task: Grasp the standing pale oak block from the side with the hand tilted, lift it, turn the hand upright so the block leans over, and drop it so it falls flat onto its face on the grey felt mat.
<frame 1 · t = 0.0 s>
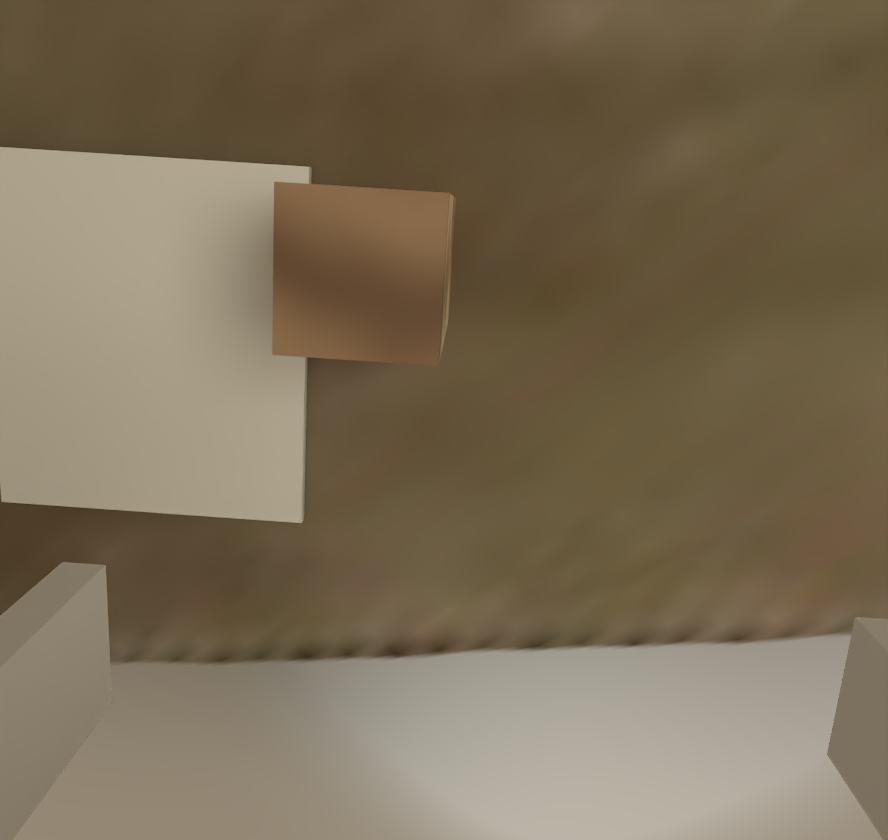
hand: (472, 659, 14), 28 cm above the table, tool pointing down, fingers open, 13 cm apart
felt mat: (151, 342, 42), on the table
oak block: (390, 257, 40), on the table
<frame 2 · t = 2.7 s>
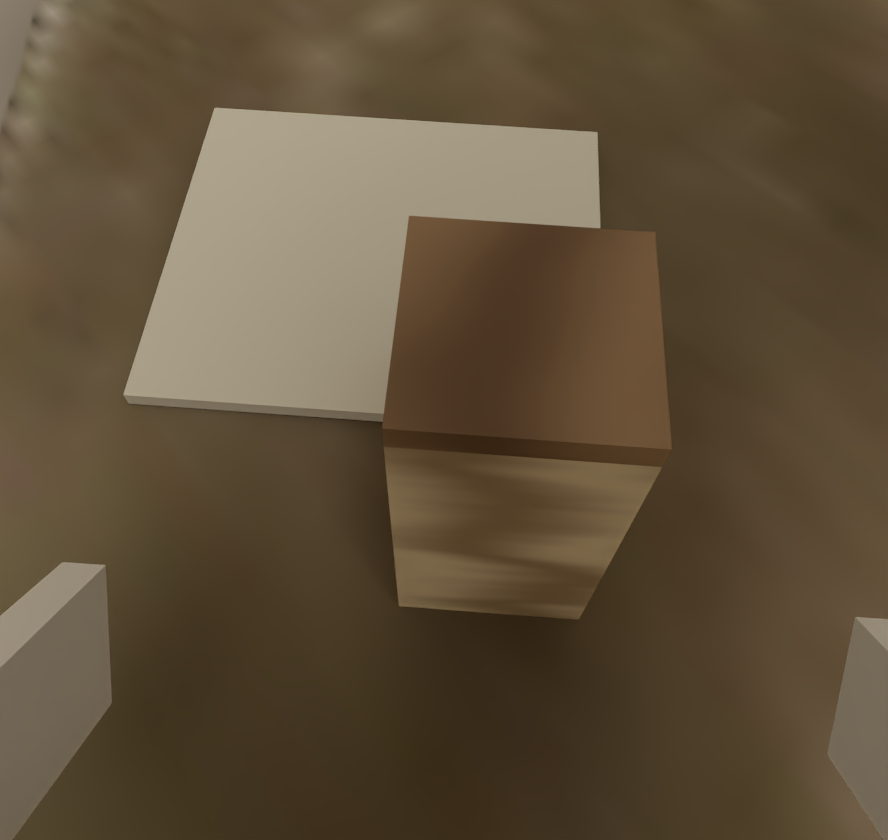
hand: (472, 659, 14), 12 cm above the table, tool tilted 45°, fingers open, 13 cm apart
felt mat: (387, 258, 35), on the table
oak block: (492, 529, 29), on the table
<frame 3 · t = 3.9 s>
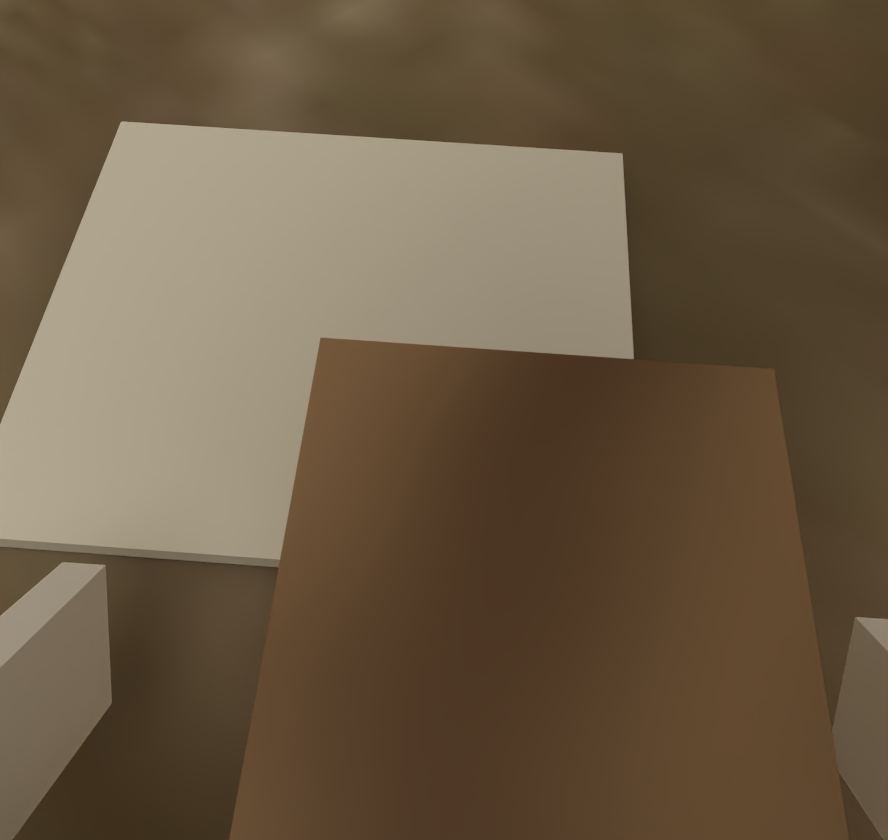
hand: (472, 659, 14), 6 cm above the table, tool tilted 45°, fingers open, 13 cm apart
felt mat: (341, 327, 26), on the table
oak block: (482, 743, 20), on the table
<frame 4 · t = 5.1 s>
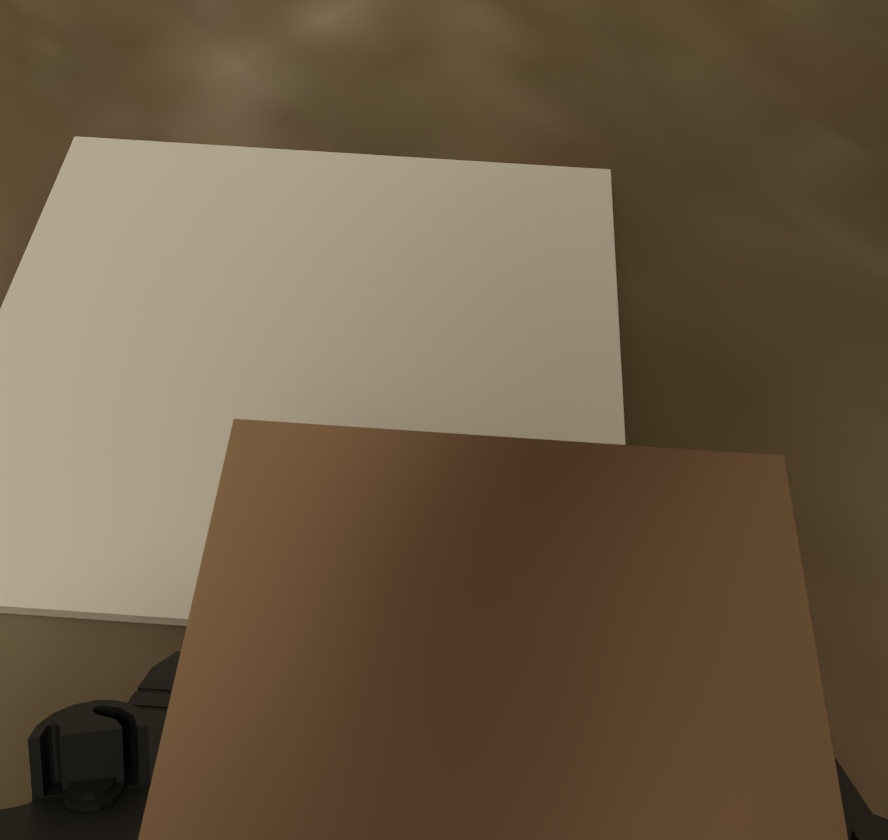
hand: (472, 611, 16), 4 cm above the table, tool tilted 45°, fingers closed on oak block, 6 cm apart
felt mat: (307, 359, 24), on the table
oak block: (455, 830, 18), on the table, touching gripper
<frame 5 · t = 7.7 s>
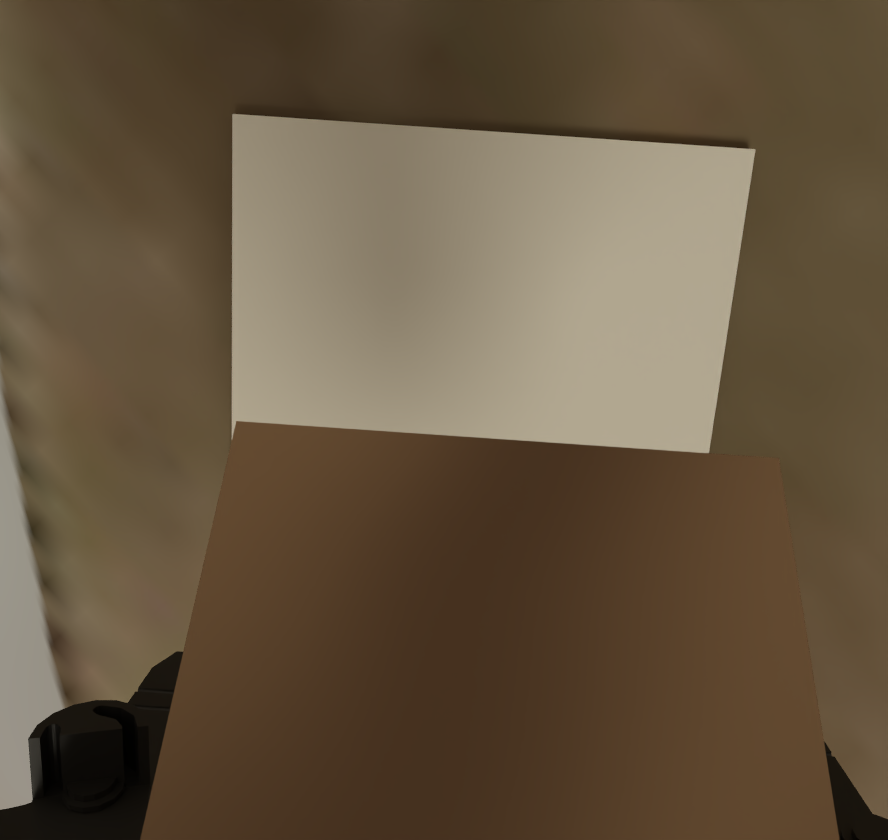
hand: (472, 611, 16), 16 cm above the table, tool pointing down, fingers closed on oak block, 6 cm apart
felt mat: (475, 357, 31), on the table
oak block: (456, 829, 18), point 15 cm above the table, tilted 45°, touching gripper
when the fingers open (4 cm above the table, at t = 9.7 s): oak block moves 2 cm and tips over, resting on felt mat.
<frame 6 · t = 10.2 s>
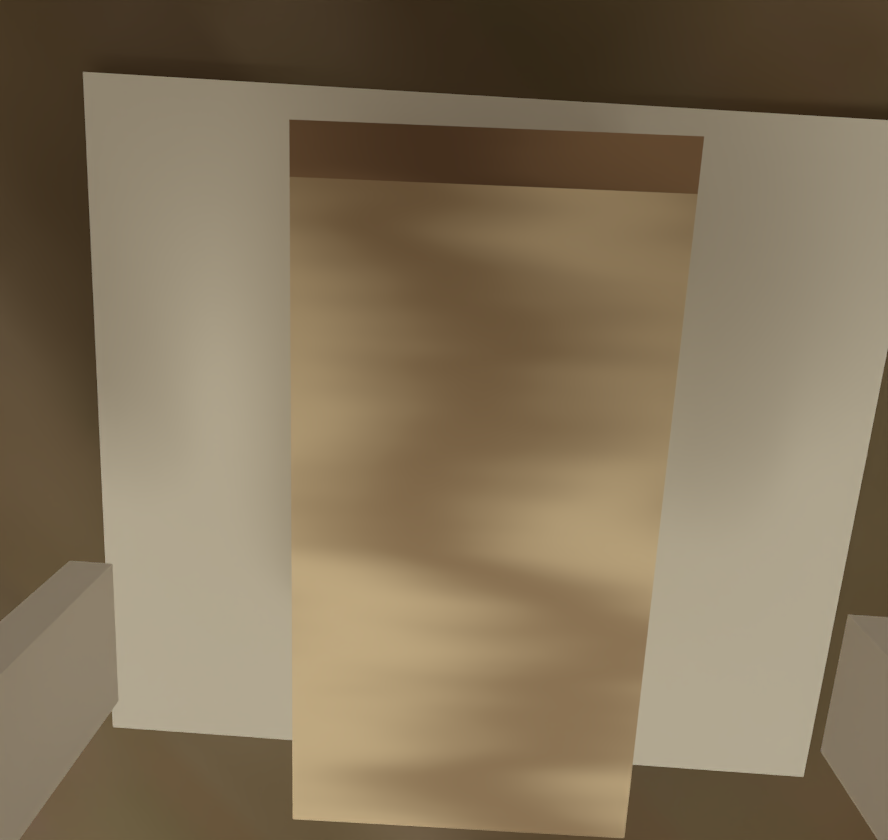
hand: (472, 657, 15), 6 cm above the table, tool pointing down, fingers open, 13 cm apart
felt mat: (477, 450, 20), on the table
oak block: (459, 727, 18), point 4 cm above the table, tilted 90°, touching felt mat
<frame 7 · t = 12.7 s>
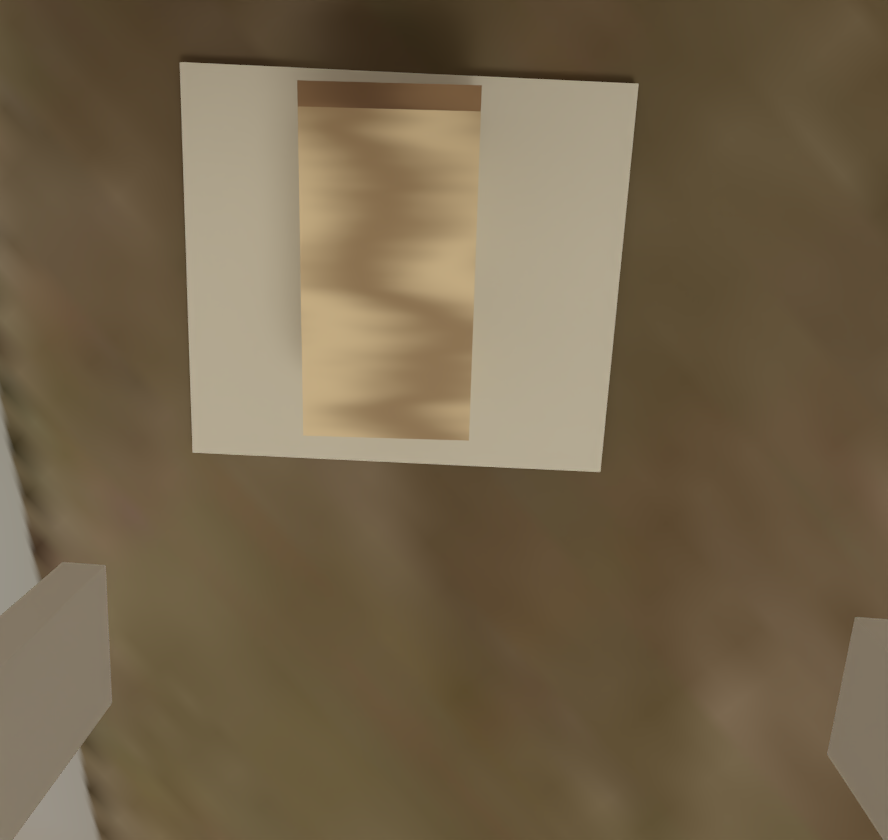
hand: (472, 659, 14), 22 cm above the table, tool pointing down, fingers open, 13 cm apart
felt mat: (403, 277, 35), on the table
oak block: (392, 417, 33), point 4 cm above the table, tilted 90°, touching felt mat
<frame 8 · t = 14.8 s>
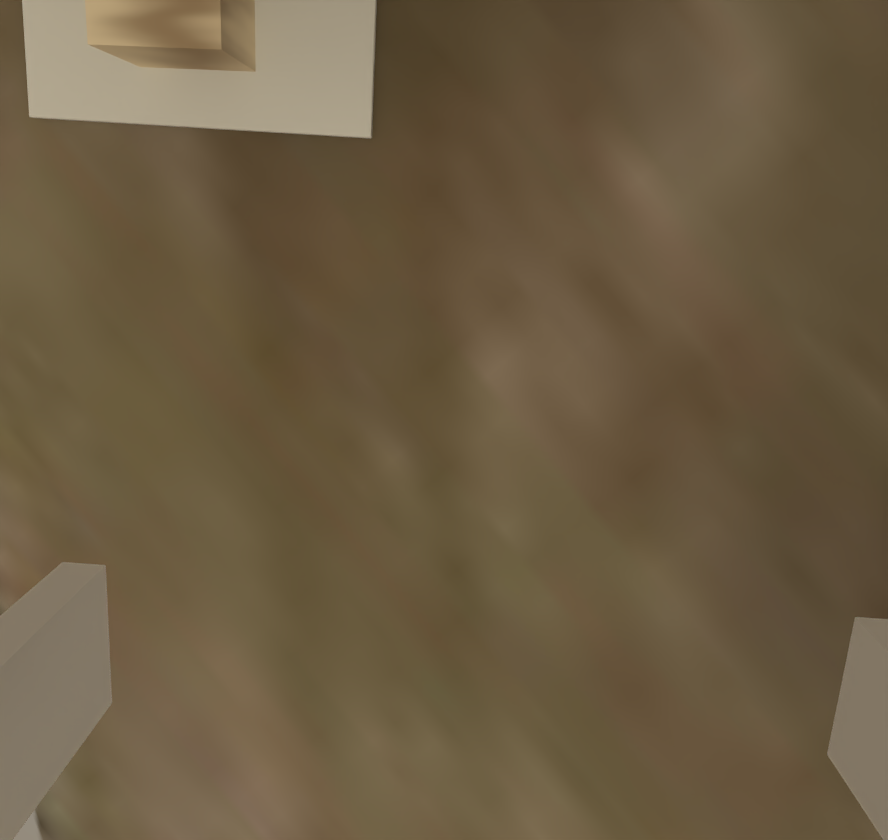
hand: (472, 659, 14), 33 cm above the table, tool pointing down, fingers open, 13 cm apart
oak block: (177, 59, 39), point 4 cm above the table, tilted 90°, touching felt mat
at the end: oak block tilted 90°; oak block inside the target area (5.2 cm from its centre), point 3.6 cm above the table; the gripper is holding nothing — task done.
